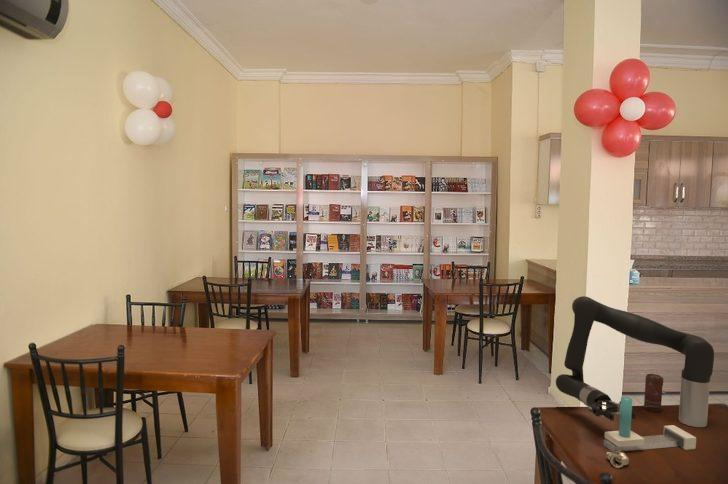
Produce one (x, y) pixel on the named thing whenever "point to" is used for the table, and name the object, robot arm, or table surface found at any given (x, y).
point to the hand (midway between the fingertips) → (624, 417)
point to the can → (653, 392)
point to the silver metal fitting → (617, 458)
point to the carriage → (625, 427)
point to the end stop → (681, 437)
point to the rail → (646, 443)
